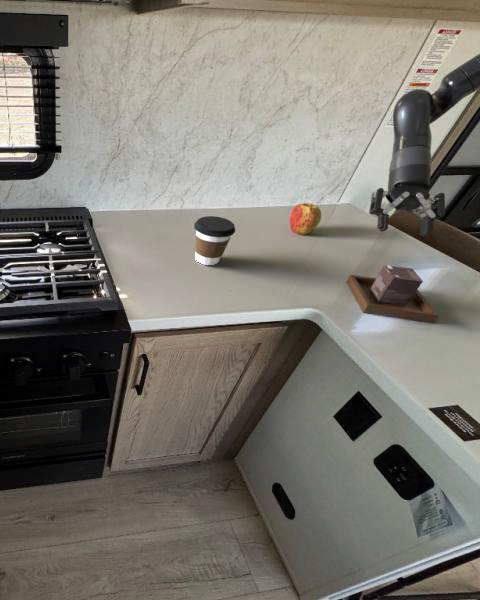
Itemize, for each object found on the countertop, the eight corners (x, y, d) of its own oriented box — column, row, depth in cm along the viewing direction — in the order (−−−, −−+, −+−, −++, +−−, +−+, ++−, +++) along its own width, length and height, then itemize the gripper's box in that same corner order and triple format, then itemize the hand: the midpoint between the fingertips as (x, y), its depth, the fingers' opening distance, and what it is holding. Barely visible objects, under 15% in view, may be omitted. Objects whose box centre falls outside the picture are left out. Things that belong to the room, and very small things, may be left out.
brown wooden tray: (406, 290, 89) (411, 282, 88) (433, 323, 79) (439, 315, 77) (345, 281, 93) (349, 274, 91) (363, 312, 82) (367, 305, 81)
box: (406, 307, 82) (424, 281, 78) (376, 302, 84) (392, 277, 80) (396, 293, 87) (413, 268, 83) (368, 288, 88) (383, 264, 84)
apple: (283, 225, 122) (293, 197, 116) (312, 228, 119) (323, 200, 113) (285, 235, 115) (296, 206, 109) (316, 239, 112) (329, 210, 107)
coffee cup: (201, 273, 97) (210, 234, 89) (180, 255, 105) (187, 218, 98) (233, 266, 99) (245, 228, 92) (210, 249, 108) (219, 213, 101)
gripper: (385, 160, 84) (379, 223, 82) (457, 164, 80) (452, 230, 78) (367, 176, 91) (361, 234, 89) (432, 180, 87) (427, 241, 85)
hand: (404, 232), depth 84 cm, fingers open, 8 cm apart
